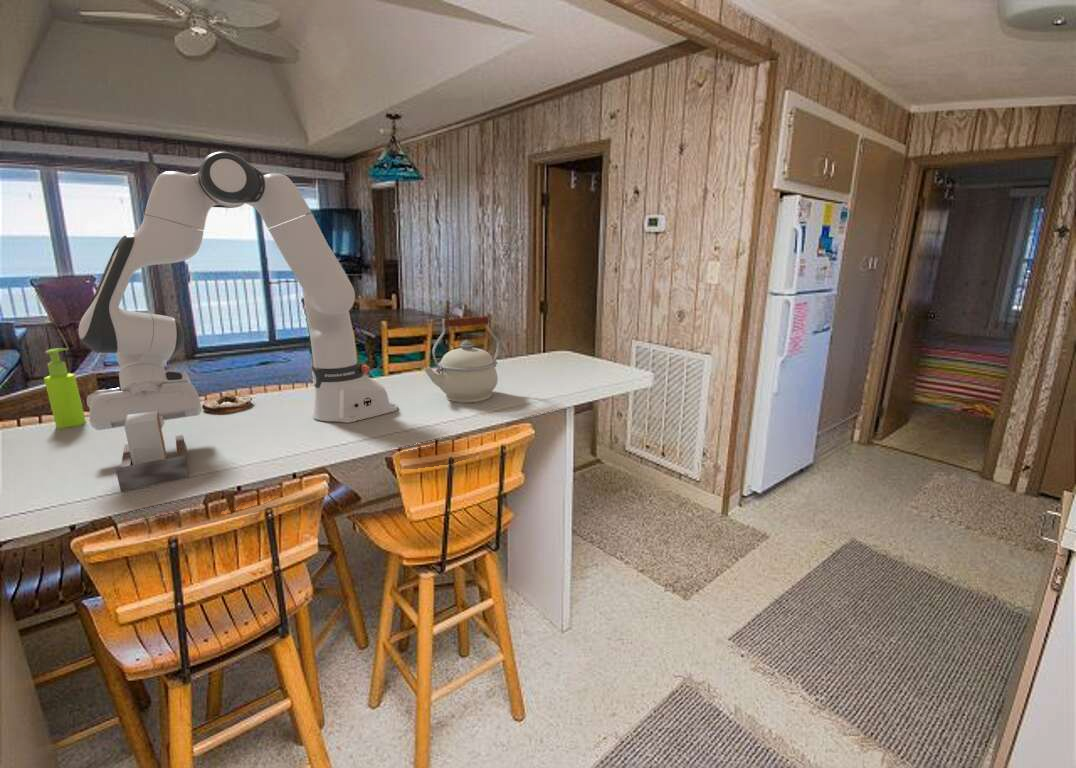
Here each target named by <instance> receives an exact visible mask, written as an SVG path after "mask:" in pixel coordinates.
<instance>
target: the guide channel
mask: <svg viewBox="0 0 1076 768" xmlns="http://www.w3.org/2000/svg"><path fill="white" fill-rule="evenodd" d="M175 447H176V456H175V457H174V456H173V457H169V458H166V459H162V460H157V461H152V462H146V463H141V464H136V465H133V463H132V459H131V454H130V450H129V445H128V443H127V444H126V443H125V444H124V446H123V452H122V457H121V464H120V467H116V471H115V472H116V477H117V481H118V486H119V489H120V492H122V491H126V490H127V491H128V490H130V489H136V488H141V487H146V486H150V485H155V484H161V483H163V482H164V483H165V482H169V481H173V480H174V481H175V480H179V479H184V478H187V477H188V478H189V477H190V475H189V467H188V466H189V464H188V460H187V450H186V445H185V437H184V434H179V435H175Z"/></svg>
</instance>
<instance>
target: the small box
mask: <svg viewBox="0 0 1076 768" xmlns="http://www.w3.org/2000/svg"><path fill="white" fill-rule="evenodd" d="M123 427H124V431H125V436H126V440H127V444H128V445H129V450H130V454H131V459H132V463H133V465H136V464H141V463H146V462H152V461H157V460H162V459H168V458H167V457H168V456H167V451H166V445H165V439H164V435H163V428H162V429H161V423H160V418H159V413H158V411H152V412H145V413H137V414H130V415H127V418H126V422H125V424H124V426H123Z"/></svg>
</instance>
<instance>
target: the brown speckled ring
mask: <svg viewBox="0 0 1076 768" xmlns="http://www.w3.org/2000/svg"><path fill="white" fill-rule="evenodd" d="M251 401H253V398H252V397H251V396H250V395H239V394H238V395H233V394H227V395H225V396H222V397H221V396H220V397H218V398H214V399H211V400H208V401H204V402H203V404H202V405H201V408H202V410H203V412H205V413H206V414H207V413H208V414H213V416H216V415H218V416H219V415H221V414H222V415H223V414H231V413H237V412H240V411H243V410H247V409H249V408H250V407H251V406H253V403H252V402H251Z"/></svg>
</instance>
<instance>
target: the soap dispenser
mask: <svg viewBox="0 0 1076 768" xmlns="http://www.w3.org/2000/svg"><path fill="white" fill-rule="evenodd" d="M68 350H69V348H68V347H58V348H56V347H55V348H50V349H47V350H45V351H44V353H45V354H47V355H49V358H50V361H49V362H48V363H47V364H46V365H47V369H48V372H49V375H48V376H44V377H43V381H44V384H45V388H46V391H47V392H46V393H47V396H48V400H49V403H50V408H51V410H52V411H51V412H52V415H53V419H54V424H55V427H56V428H57V427H58V428H57V429H67V427H69V428H74V427H79V426H82V425H85V424H86V423H87V420H86V416H85V412H84V408H83V404H82V399H81V396H80V391H79V387H78V383H77V379H76V374H75V373H71V372H70V373H69V372H68V368H67V363H66V362H65V361H63V360H61V359H60V358H61V357H60V354H59V352H62V351H68ZM65 427H66V428H65Z"/></svg>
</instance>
